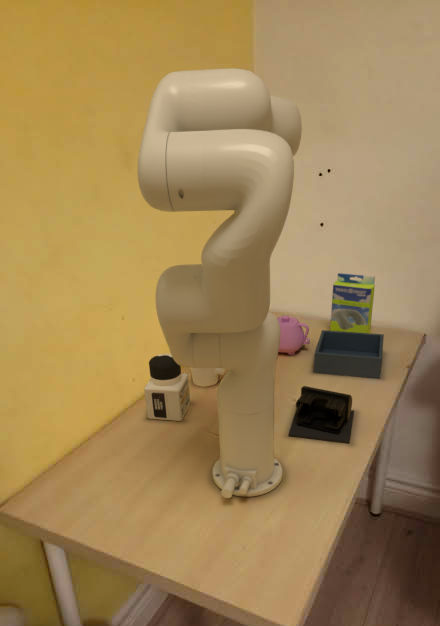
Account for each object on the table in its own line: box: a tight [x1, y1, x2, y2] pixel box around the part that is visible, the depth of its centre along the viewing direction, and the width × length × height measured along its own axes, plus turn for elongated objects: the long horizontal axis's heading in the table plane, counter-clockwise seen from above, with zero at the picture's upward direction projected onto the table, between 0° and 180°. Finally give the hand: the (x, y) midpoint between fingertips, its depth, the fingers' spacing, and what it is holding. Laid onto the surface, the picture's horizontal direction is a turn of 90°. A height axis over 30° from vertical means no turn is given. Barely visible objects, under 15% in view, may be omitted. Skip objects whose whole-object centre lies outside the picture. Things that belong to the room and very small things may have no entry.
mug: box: [190, 368, 228, 388], centre depth 127 cm, size 10×7×12 cm, turn 61°
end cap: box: [294, 385, 353, 434], centre depth 110 cm, size 10×7×7 cm
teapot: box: [276, 314, 311, 356], centre depth 142 cm, size 10×15×9 cm
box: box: [329, 272, 376, 333], centre depth 145 cm, size 10×4×17 cm, turn 64°
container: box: [143, 353, 191, 422], centre depth 115 cm, size 8×8×13 cm
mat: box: [287, 404, 355, 445], centre depth 111 cm, size 12×12×1 cm
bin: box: [313, 329, 385, 380], centre depth 134 cm, size 15×16×5 cm
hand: (253, 272), depth 110 cm, fingers open, 9 cm apart
